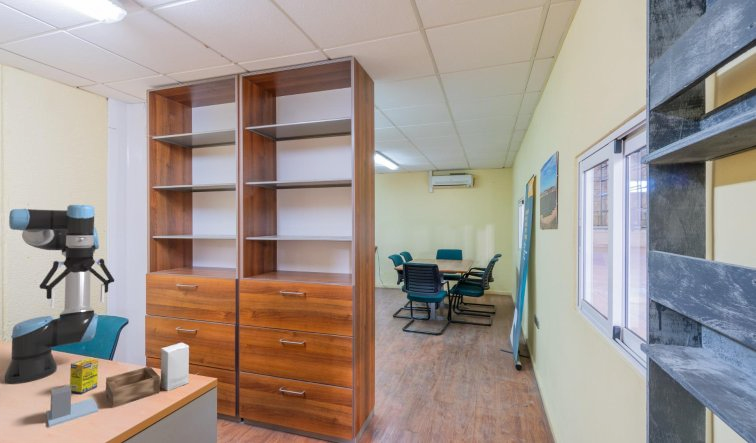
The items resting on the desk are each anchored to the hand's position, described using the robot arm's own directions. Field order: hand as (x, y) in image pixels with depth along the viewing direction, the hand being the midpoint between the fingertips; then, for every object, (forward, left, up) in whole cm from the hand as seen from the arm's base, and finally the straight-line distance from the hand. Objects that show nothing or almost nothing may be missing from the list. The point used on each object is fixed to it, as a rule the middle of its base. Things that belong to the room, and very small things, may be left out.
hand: (78, 304), depth 120 cm
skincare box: (+14, +28, -35) cm, 47 cm away
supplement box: (-7, +3, -35) cm, 36 cm away
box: (+10, +15, -35) cm, 39 cm away
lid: (+10, -2, -35) cm, 37 cm away
